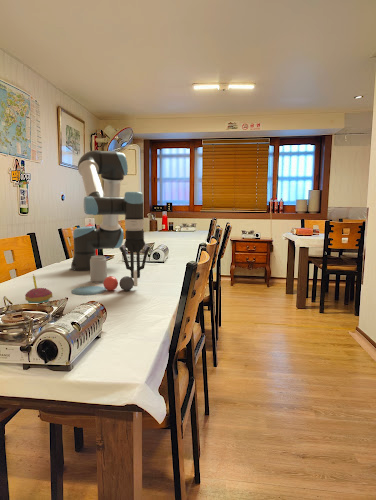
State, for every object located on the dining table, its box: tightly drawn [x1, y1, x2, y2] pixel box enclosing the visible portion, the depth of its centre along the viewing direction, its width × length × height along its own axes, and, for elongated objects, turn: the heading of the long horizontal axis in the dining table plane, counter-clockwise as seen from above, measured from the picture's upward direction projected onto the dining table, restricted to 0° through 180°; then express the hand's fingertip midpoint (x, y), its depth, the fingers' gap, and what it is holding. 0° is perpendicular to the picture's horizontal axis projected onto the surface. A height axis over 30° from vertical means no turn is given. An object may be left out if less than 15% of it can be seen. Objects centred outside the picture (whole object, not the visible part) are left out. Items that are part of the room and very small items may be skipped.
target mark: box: [71, 285, 107, 296], centre depth 138 cm, size 14×14×1 cm
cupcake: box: [24, 273, 53, 304], centre depth 114 cm, size 9×8×12 cm
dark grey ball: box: [118, 275, 135, 292], centre depth 139 cm, size 6×6×6 cm
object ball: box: [102, 275, 119, 292], centre depth 139 cm, size 6×6×6 cm
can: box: [89, 254, 108, 284], centre depth 154 cm, size 8×8×12 cm
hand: (135, 285), depth 140 cm, fingers closed
